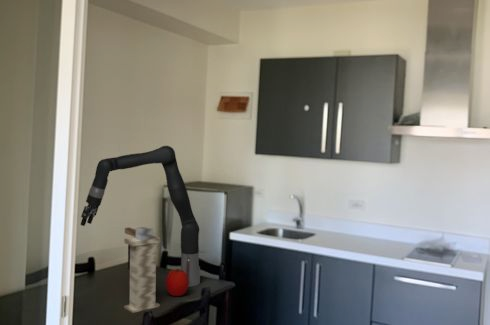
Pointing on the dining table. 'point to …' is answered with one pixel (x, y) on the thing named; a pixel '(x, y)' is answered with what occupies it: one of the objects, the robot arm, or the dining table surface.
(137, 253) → the birch plinth
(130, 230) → the mallet
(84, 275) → the dining table surface
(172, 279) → the tomato
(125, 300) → the dining table surface
